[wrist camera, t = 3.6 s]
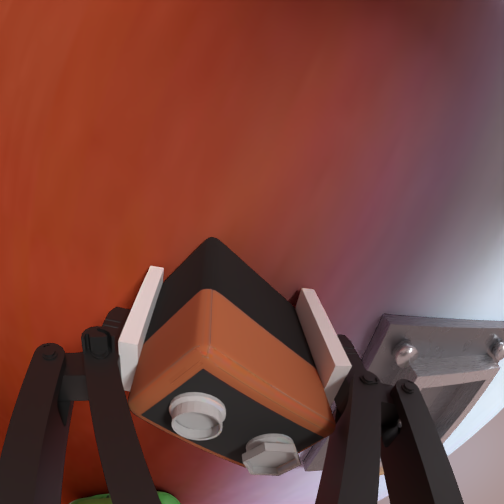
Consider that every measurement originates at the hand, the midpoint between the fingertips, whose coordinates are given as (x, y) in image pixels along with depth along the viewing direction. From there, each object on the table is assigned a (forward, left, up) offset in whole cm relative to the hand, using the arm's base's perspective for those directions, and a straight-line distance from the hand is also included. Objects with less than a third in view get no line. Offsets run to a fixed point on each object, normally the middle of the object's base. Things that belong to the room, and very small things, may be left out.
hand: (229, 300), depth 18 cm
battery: (0, 0, 0) cm, 0 cm away
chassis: (+9, +18, 0) cm, 20 cm away
